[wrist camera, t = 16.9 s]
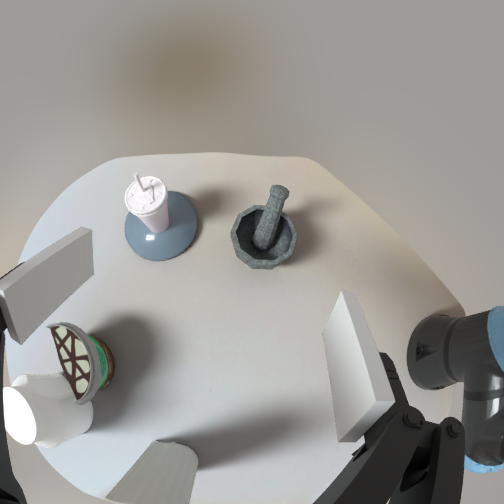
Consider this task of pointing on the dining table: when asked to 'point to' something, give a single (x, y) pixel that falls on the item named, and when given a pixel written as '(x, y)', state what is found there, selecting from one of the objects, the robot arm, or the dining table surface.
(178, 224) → the dish
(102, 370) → the food container
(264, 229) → the mortar and pestle
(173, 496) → the paper towel roll
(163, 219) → the smoothie
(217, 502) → the dining table surface
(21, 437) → the jar
